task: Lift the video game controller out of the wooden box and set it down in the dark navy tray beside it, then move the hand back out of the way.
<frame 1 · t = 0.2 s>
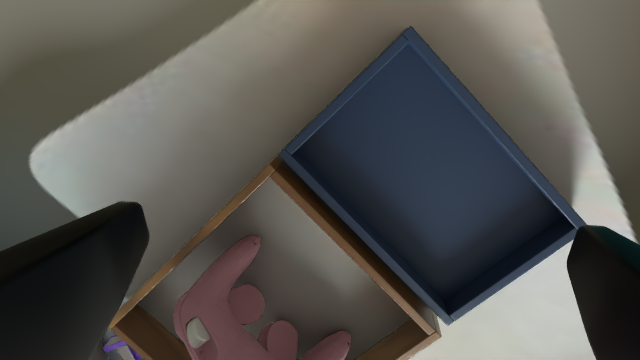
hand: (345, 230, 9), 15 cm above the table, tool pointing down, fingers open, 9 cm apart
wooden box: (273, 305, 27), on the table
video game controller: (274, 304, 27), resting in wooden box
tray: (426, 179, 23), on the table
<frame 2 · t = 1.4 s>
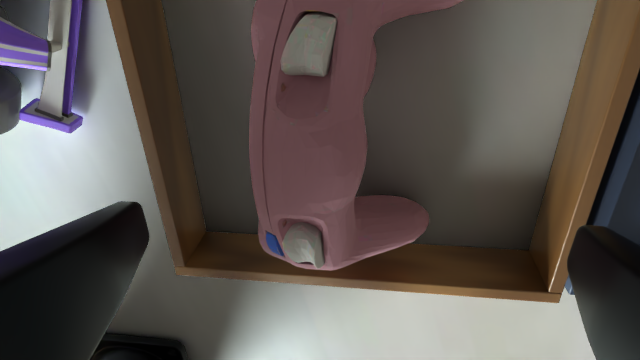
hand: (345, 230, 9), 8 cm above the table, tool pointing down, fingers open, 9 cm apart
wooden box: (363, 102, 15), on the table
video game controller: (363, 101, 16), resting in wooden box
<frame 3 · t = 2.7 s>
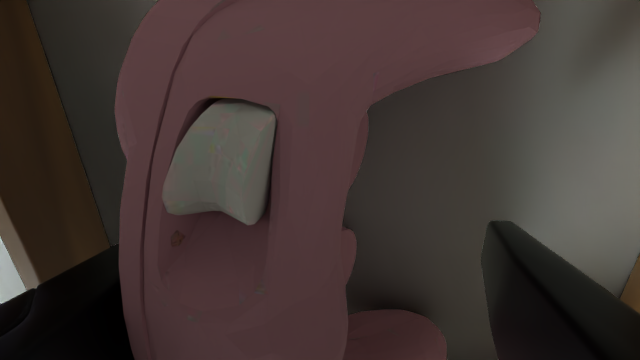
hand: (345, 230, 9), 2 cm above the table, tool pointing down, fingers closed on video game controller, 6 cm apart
wooden box: (350, 186, 10), on the table
video game controller: (350, 181, 11), resting in wooden box, touching gripper
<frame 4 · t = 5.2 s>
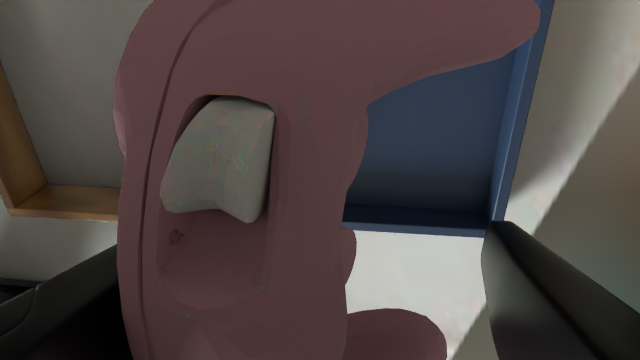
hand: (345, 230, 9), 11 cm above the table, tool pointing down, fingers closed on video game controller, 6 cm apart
wooden box: (138, 75, 20), on the table
video game controller: (350, 180, 11), point 9 cm above the table, touching gripper
tray: (409, 79, 18), on the table
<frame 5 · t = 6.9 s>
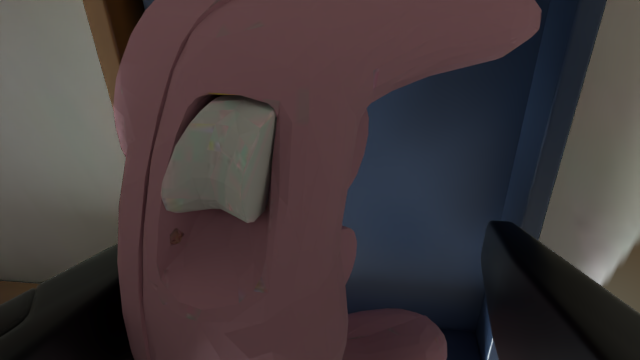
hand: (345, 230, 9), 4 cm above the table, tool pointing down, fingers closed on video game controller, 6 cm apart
video game controller: (350, 180, 11), point 2 cm above the table, touching gripper
tray: (360, 150, 12), on the table
when the fingers open (2 cm above the table, at t = 7.8 s): video game controller stays where it is, resting on tray.
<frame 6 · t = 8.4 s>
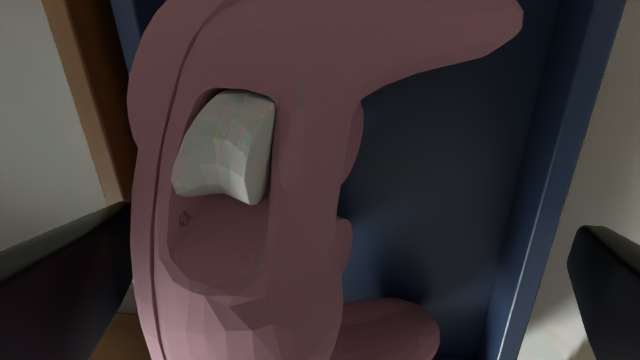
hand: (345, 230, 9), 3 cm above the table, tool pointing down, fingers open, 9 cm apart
video game controller: (347, 174, 11), resting on tray
tray: (353, 168, 11), on the table
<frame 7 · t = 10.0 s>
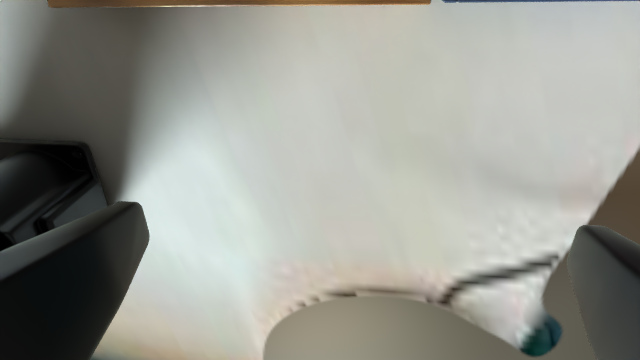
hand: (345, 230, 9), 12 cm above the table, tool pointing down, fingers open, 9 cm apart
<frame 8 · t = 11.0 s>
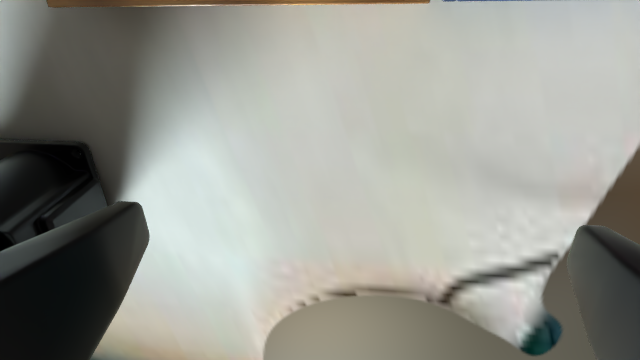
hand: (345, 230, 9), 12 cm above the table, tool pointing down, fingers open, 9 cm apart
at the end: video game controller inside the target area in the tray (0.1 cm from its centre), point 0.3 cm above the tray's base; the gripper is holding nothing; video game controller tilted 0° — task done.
